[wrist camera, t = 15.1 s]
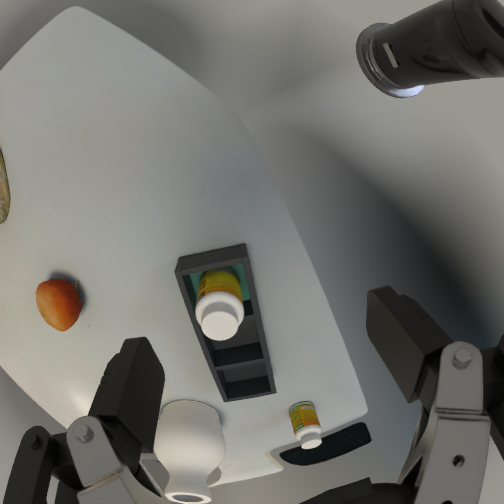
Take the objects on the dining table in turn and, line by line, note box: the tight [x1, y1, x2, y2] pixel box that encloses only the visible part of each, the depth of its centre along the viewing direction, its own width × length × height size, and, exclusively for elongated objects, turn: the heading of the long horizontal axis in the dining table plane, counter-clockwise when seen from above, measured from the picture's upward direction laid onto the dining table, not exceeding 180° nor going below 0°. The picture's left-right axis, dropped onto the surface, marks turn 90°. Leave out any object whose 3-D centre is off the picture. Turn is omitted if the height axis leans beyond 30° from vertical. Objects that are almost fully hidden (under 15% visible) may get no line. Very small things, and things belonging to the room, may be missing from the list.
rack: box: [174, 244, 277, 402], centre depth 40 cm, size 9×26×4 cm, turn 10°
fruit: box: [36, 279, 84, 331], centre depth 35 cm, size 8×8×8 cm
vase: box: [154, 400, 226, 504], centre depth 41 cm, size 14×14×20 cm
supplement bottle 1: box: [195, 267, 244, 341], centre depth 34 cm, size 6×6×10 cm
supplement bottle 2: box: [289, 402, 322, 449], centre depth 48 cm, size 5×5×10 cm
